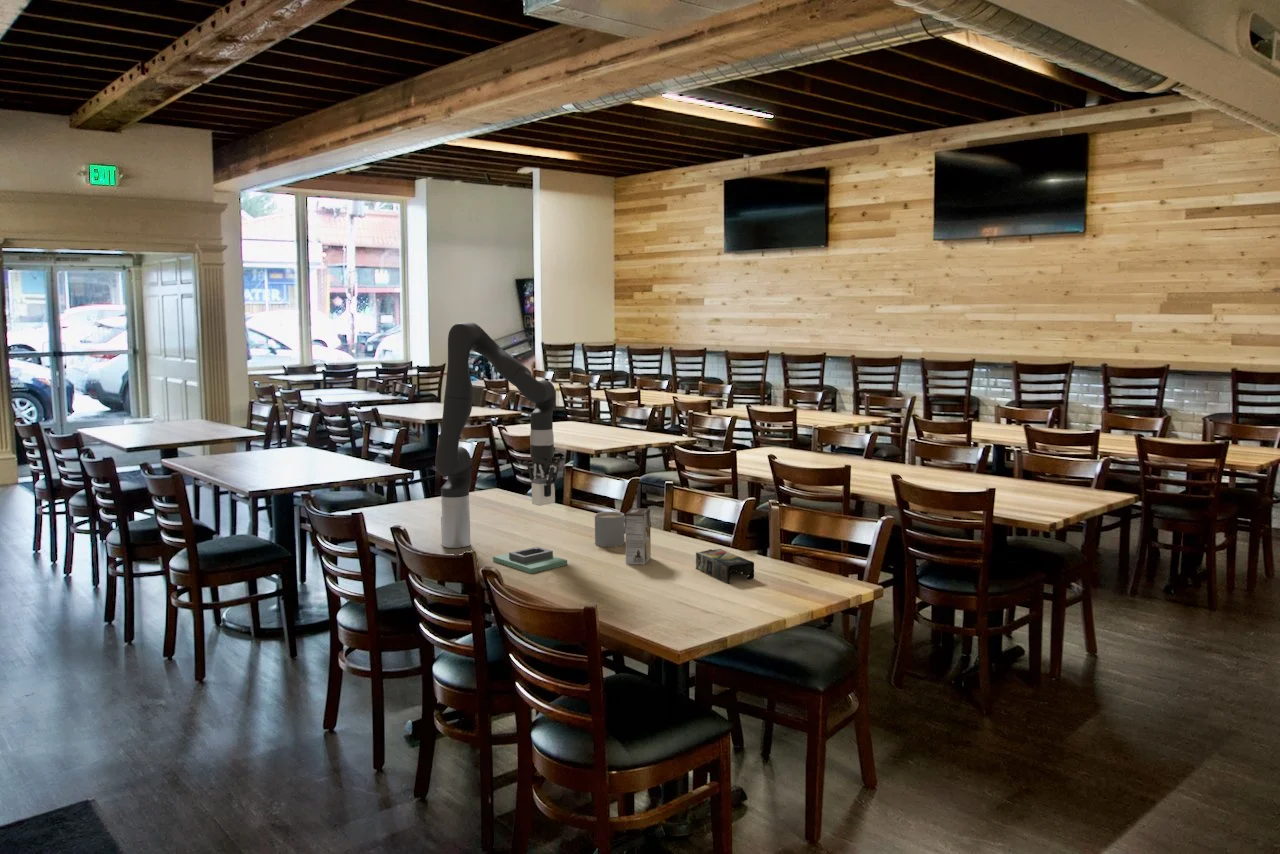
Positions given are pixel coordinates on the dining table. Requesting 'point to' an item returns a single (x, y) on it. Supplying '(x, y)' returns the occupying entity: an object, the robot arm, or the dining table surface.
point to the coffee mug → (609, 529)
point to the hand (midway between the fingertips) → (543, 495)
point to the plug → (541, 493)
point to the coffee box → (638, 536)
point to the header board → (531, 559)
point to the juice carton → (723, 564)
